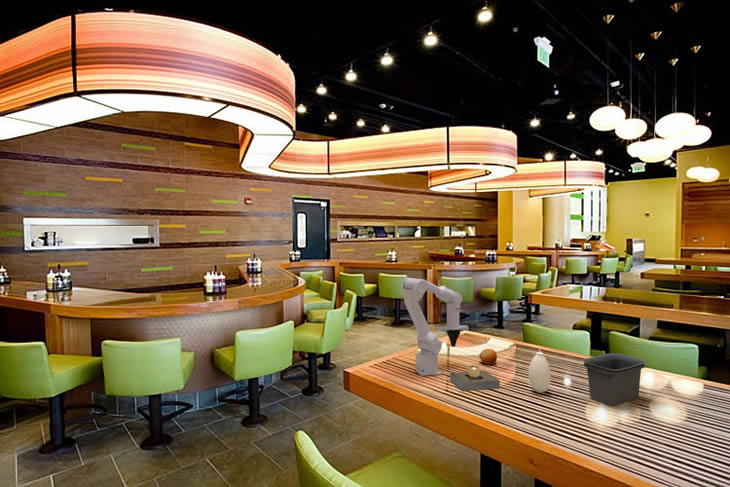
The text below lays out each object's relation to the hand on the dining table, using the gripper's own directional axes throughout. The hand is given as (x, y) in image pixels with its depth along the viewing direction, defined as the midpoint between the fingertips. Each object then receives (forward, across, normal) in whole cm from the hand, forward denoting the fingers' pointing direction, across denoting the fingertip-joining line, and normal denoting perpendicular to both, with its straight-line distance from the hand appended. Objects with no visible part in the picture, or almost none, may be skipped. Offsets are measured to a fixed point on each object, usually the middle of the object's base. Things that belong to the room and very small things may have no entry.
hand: (453, 346), depth 183 cm
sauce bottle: (+10, +20, -36) cm, 42 cm away
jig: (+9, -1, -23) cm, 25 cm away
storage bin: (+10, +43, -46) cm, 64 cm away
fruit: (+10, +18, 0) cm, 20 cm away
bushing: (+9, -1, -23) cm, 25 cm away
